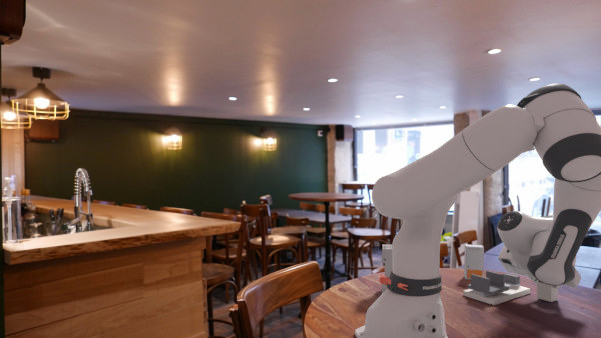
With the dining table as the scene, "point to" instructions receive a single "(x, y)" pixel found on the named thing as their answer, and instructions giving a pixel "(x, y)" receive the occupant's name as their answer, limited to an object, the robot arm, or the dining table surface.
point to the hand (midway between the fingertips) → (547, 284)
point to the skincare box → (473, 261)
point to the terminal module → (546, 292)
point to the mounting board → (499, 295)
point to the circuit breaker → (387, 261)
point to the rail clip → (493, 283)
